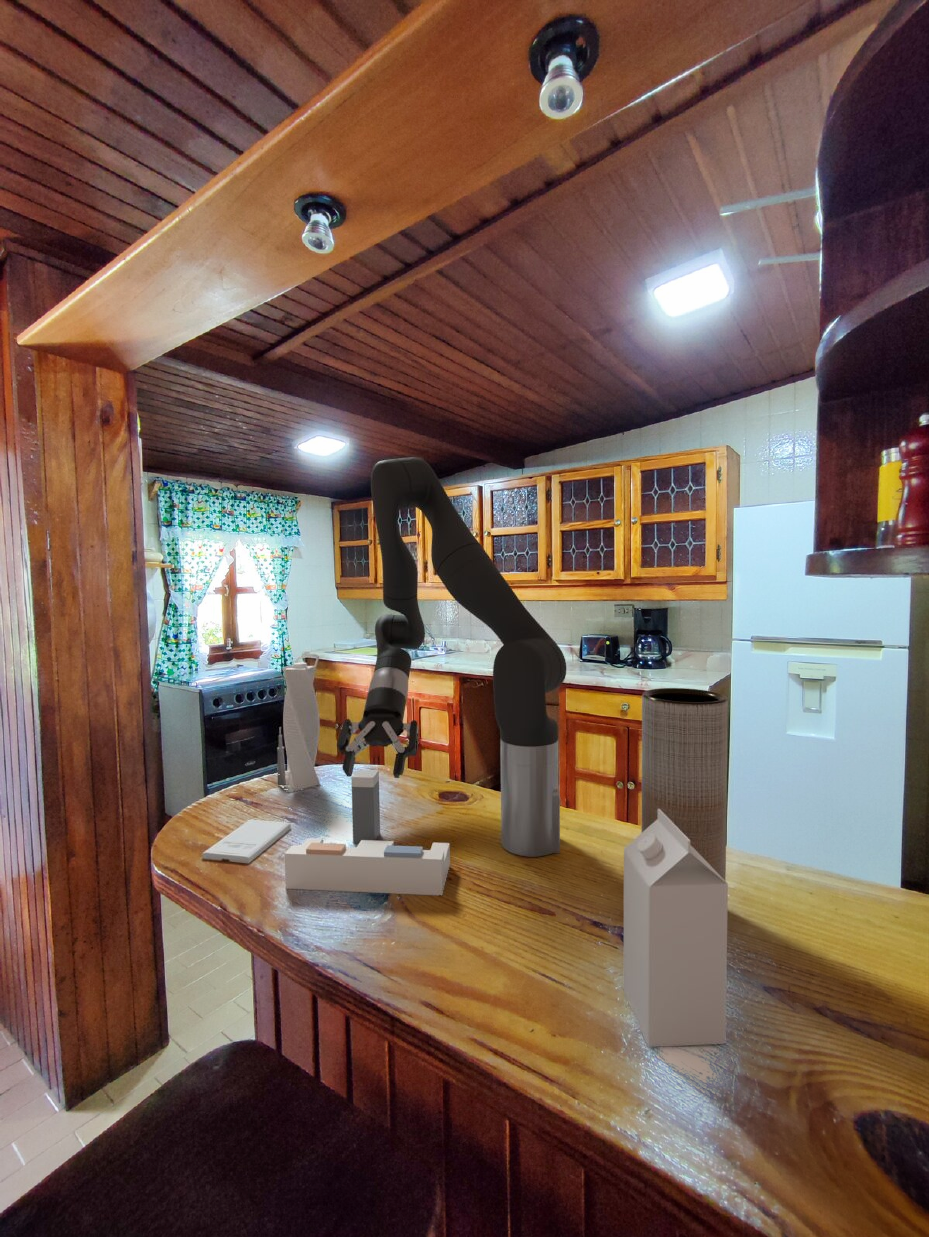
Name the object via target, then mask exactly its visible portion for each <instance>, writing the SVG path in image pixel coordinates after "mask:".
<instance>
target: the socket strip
mask: <svg viewBox="0 0 929 1237" xmlns="http://www.w3.org/2000/svg"><path fill="white" fill-rule="evenodd" d="M346 846H347V844H346V843H331V842H329V843H328V842H324V838H317V837H316V838H315V837H314V838H313V837H311V838H310V837H309V838H308V837H307V838H305V839H304V841H303V842H302V844H300V845H296V844H295V845H290V847H289V848H287V850H286V851H285V852H284V874H285V875H284V876H285V878H284V881H285V889H287V890H289V889H290V890H307V891H308V890H311V891H312V890H313V891H327V892H329V891H330V892H352V893H353V892H354V893H371V894H372V893H374V894H375V893H376V894H394V895H395V894H397V895H399V894H400V895H416V896H417V895H418V896H419V895H420V896H421V895H422V896H439V895H441V896H443V895H444V891H443V890H445V887H446V883H445V882H447V879H446V878H448V875H449V871H450V868H451V864H450V863H451V858H450V857H451V856H450V854H451V853H450V852H451V850H450V849H451V848H450V847H451V846H450V843H449V842H432V845H431V848H430V849H423V846H414V845H412V846H411V845H395V844H394V840H377V841H375V840H361V841H360V843H357V845H356V847H355V846H354V847H353V846H352V847H350V846H349V847H348V846H347V847H346ZM449 867H450V868H449ZM448 870H449V871H448ZM447 874H448V875H447ZM444 886H445V887H444ZM441 896H440V897H441Z"/></svg>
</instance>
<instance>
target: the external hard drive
mask: <svg viewBox="0 0 929 1237" xmlns="http://www.w3.org/2000/svg"><path fill="white" fill-rule="evenodd" d="M291 826H292V824H291V823H290V822H285V821H274V820H273V821H272V820H263V819H249V820H247V821H245V822H244V823H243V824H241V825H240V826H239V827H238V828H235V829H234V830H233V831H232V832H230V833H229V834H228V835H226V836H225V837H223V838H222V839H221V840H219V841H218V842H216V843H215V844H214V845H212V846H210V847H209V848H208V849H206V850H205V851H203V852H202V853H201V859H204V860H212V861H225V862H231V863H232V862H233V863H243V864H250V863H251V862H253V861H254V860H255V859H256V858H258V856H260V855H261V854H262V853H264V851H266V850H267V849H268V848H270V847H271V846H272V845H273V844H274V843H276V842H277V841H278V840H279V839H281V837H283V836H284V835H285V834H287V832H289V831H290V830H291V829H292V827H291Z"/></svg>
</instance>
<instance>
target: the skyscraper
mask: <svg viewBox="0 0 929 1237" xmlns="http://www.w3.org/2000/svg"><path fill="white" fill-rule="evenodd" d="M311 657H312V658H315V662H314V665H308V664H307V662H299V661H301V660H302V659H305V658H311ZM319 659H320V656H319V655H318V654H305V655H301V656H300V657H298V658H297V659H296V660H295V661H294V662H293V663H292V664H291V665H287V666H284V667H283V668H282V672H283V676H284V681H285V684H286V691H285V696H284V703H283V714H282V715H283V716H282V717H283V719H282V721H283V722H282V726H283V729H282V726H280V727H278V728H279V730H278V733H279V735H278V736H277V738H278V747H277V748H276V751H277V768H276V770H277V783H278V785H290V787H288V786H287V787H284V788H281V790H283V789H288V790H284V791H285V792H286V791H287V792H292V793H295V791H296V792H299V791H298V790H300V791H302V790H301V789H304V790H308V789H311V788H316V787H319V785H320V786H321V783H320V780H319V777H318V774H317V772H316V769H315V764H316V759H317V753H318V748H319V739H320V726H321V723H320V708H319V703H318V698H317V695H316V691H315V687H314V681H315V680H314V679H315V675H316V671H317V665H318V663H319V661H320V660H319ZM282 730H283V734H282ZM283 739H284V746H283ZM285 751H286V757H287V762H288V768H289V774H288V778H286V765H285ZM278 774H280V775H278ZM286 779H287V780H286ZM286 782H287V783H286ZM315 786H316V787H315ZM287 792H286V793H287Z"/></svg>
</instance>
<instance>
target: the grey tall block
mask: <svg viewBox="0 0 929 1237" xmlns="http://www.w3.org/2000/svg"><path fill="white" fill-rule="evenodd" d="M380 806H381V805H380V771H379V770H377V769H373V770H372V769H357V771H355V772H354V774H352V776H351V810H352V812H351V813H352V814H351V815H352V843H353V844H359V843H360V841H361V840H375V841H378V839H379V837H380V835H381V814H380V813H381V809H380Z"/></svg>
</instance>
